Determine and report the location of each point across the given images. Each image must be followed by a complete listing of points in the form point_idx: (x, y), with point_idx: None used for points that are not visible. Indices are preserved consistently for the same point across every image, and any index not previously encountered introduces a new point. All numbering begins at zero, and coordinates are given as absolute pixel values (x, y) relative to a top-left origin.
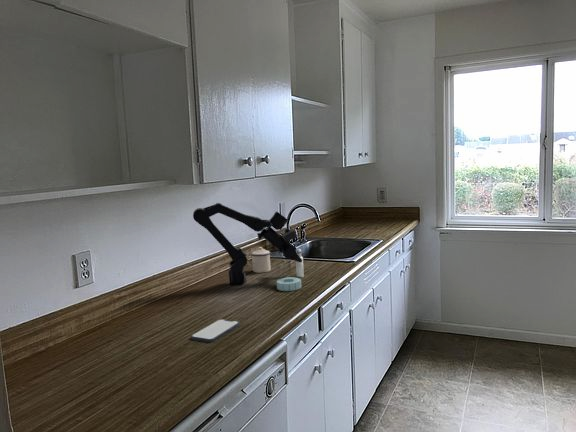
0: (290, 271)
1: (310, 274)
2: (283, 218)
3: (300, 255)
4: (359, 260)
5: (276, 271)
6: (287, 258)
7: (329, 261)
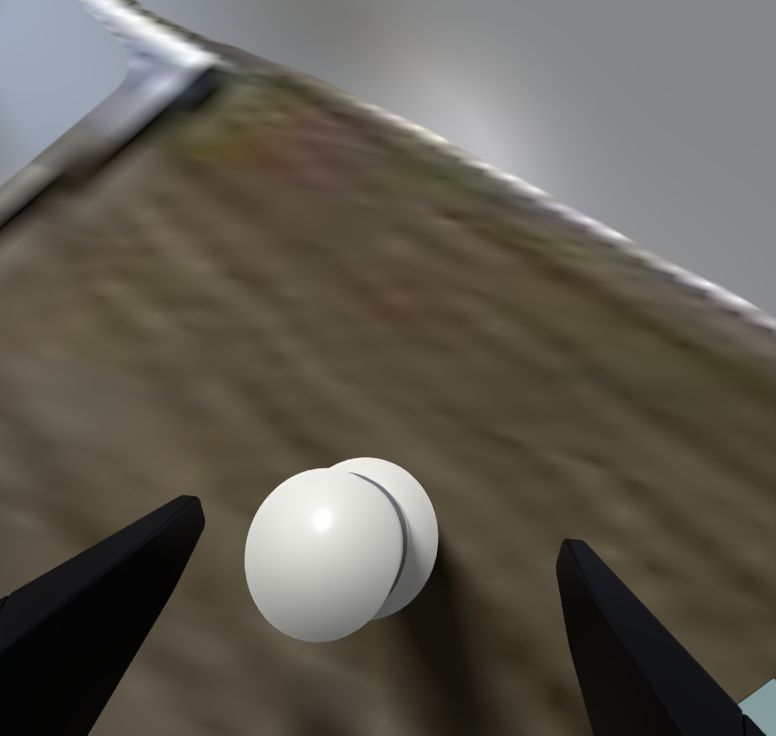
0: None
1: (372, 406)
2: None
3: (406, 518)
4: (215, 42)
5: None
6: None
7: (98, 172)
